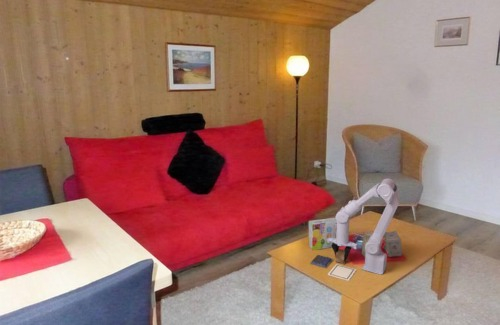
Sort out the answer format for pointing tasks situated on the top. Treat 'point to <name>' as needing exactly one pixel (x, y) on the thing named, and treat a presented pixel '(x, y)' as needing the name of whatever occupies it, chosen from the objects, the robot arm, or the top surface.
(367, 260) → the robot arm
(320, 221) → the snack box
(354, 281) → the top surface
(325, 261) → the ink pad
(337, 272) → the marked card
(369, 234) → the skincare box
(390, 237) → the incense holder
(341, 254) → the walnut stamp
